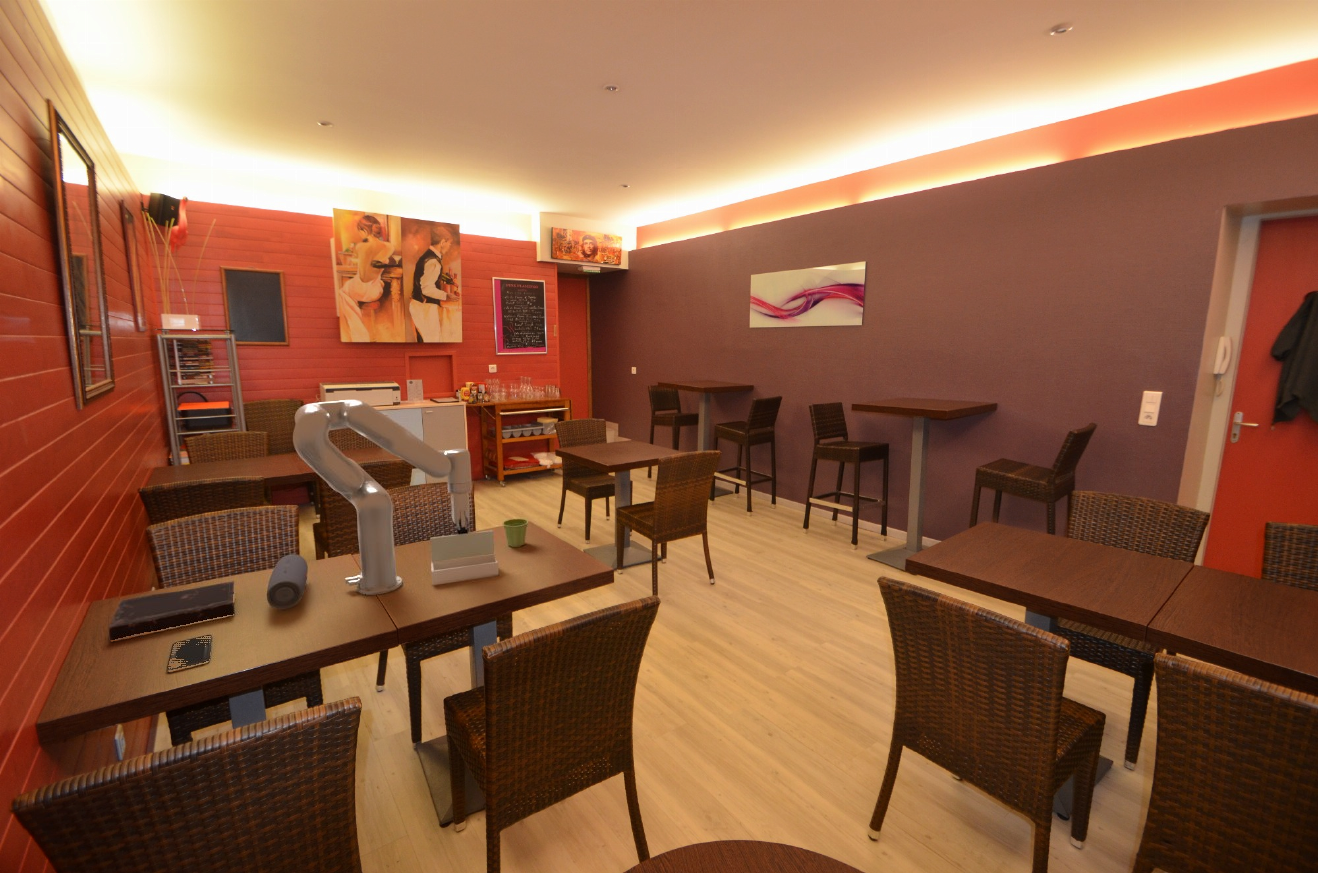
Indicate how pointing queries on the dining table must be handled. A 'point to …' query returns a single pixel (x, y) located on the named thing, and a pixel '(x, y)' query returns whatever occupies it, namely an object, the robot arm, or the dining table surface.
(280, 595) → the bluetooth speaker
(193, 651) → the phone
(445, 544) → the cover
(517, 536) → the plant pot
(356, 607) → the dining table surface
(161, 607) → the diary
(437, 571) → the white hinged box
